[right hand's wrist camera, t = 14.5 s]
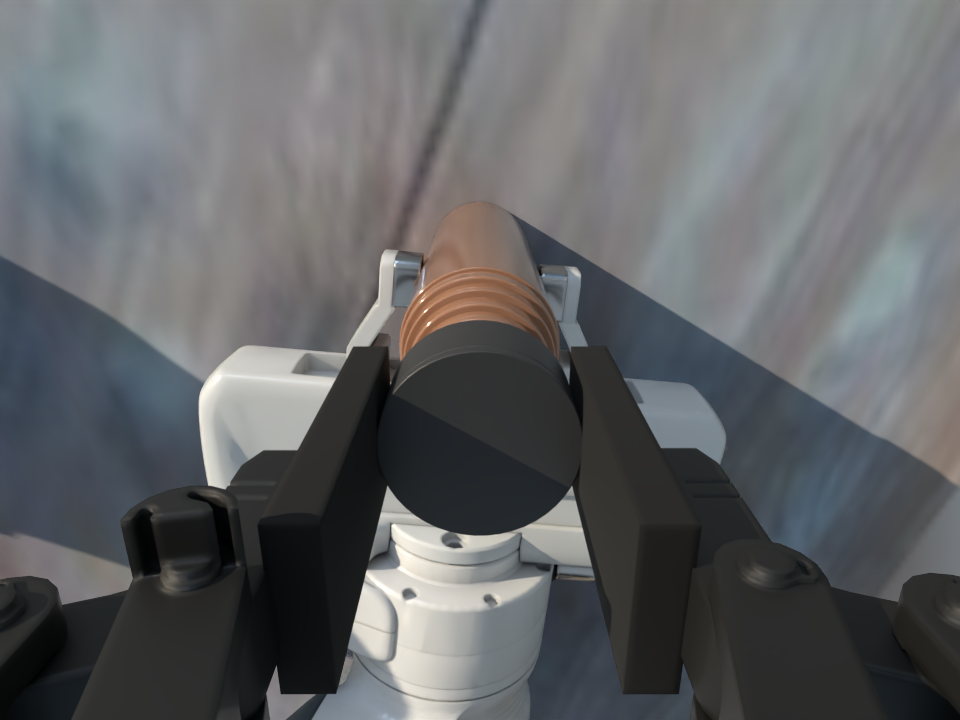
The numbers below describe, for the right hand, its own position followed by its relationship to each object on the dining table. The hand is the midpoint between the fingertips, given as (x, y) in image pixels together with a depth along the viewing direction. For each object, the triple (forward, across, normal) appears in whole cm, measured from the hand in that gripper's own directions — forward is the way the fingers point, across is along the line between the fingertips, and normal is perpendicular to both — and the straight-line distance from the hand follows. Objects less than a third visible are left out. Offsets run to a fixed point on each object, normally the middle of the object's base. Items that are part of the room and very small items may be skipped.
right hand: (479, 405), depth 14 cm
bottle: (+17, 0, 0) cm, 17 cm away
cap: (-2, 0, 0) cm, 2 cm away
